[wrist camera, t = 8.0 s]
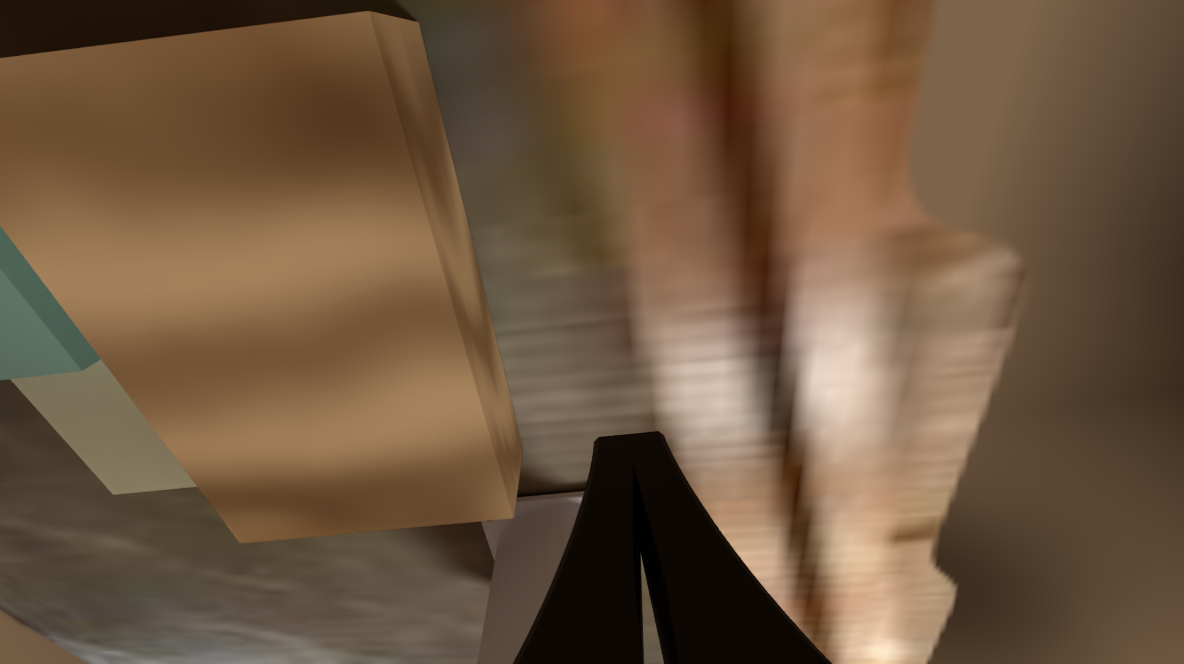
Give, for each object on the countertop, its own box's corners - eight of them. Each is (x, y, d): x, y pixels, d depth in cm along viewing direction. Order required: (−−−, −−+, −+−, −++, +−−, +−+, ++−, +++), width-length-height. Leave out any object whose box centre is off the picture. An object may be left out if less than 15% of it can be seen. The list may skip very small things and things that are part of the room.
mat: (279, 474, 24) (276, 478, 24) (118, 490, 24) (113, 494, 24) (31, 71, 15) (21, 71, 15) (-222, 103, 15) (-236, 104, 15)
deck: (523, 450, 24) (513, 518, 20) (289, 473, 24) (240, 543, 20) (418, 22, 15) (368, 10, 11) (45, 69, 15) (-115, 73, 11)
